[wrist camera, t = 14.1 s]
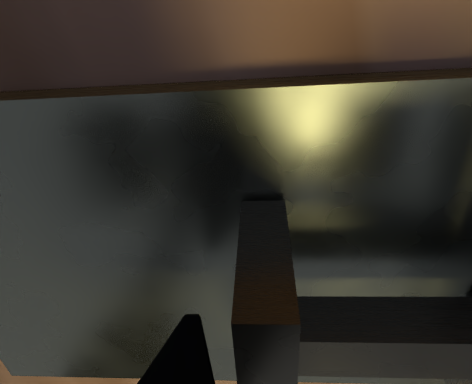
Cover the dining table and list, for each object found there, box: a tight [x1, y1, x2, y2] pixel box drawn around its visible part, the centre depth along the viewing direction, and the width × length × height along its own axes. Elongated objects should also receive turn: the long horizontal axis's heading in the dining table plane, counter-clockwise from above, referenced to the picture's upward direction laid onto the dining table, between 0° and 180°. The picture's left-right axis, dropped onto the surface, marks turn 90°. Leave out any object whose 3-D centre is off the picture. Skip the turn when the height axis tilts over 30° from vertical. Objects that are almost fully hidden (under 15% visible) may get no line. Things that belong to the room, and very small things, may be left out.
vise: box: [0, 68, 472, 384], centre depth 9 cm, size 27×12×5 cm, turn 94°
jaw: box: [231, 200, 472, 384], centre depth 9 cm, size 9×10×4 cm
